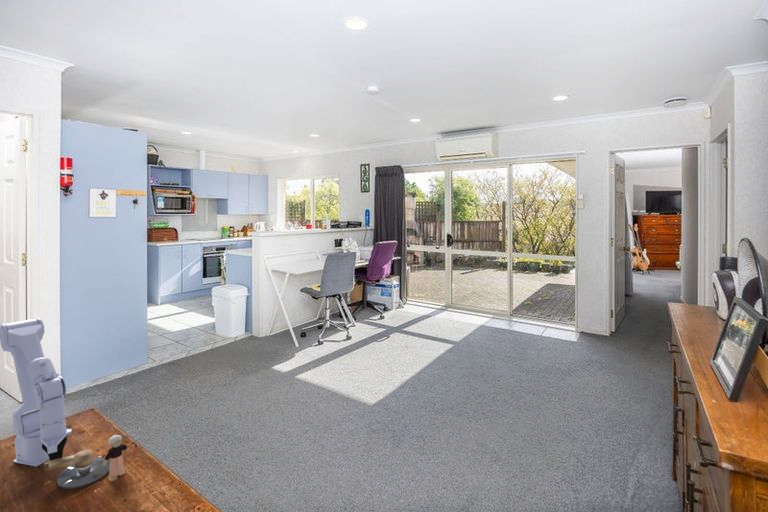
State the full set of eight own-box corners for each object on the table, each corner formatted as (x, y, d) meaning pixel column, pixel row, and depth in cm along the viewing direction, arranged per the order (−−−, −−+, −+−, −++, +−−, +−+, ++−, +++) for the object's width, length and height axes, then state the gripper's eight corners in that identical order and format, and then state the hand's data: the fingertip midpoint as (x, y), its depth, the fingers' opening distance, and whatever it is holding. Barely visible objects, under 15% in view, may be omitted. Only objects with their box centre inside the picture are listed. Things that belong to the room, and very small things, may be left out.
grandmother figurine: (113, 484, 117) (109, 443, 116) (101, 482, 118) (98, 441, 116) (134, 467, 125) (131, 428, 123) (123, 466, 125) (120, 427, 124)
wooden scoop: (43, 477, 115) (42, 467, 115) (47, 468, 119) (46, 458, 118) (92, 465, 120) (91, 456, 120) (94, 457, 124) (93, 448, 124)
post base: (45, 484, 117) (44, 474, 116) (87, 457, 129) (86, 447, 129) (82, 492, 114) (81, 481, 113) (121, 463, 126) (120, 453, 126)
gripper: (68, 427, 114) (72, 472, 115) (71, 405, 125) (75, 446, 127) (35, 435, 110) (40, 481, 111) (41, 412, 121) (45, 454, 123)
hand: (56, 463), depth 119 cm, fingers closed, pressing on wooden scoop
